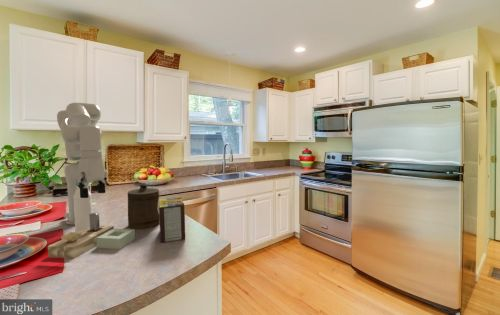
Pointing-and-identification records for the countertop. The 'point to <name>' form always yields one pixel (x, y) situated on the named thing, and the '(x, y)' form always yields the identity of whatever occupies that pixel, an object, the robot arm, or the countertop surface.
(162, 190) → the countertop surface
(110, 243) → the pale green square block
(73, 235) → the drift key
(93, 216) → the silver cylinder
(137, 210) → the wooden container
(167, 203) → the protein box
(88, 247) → the socket block
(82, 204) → the water bottle
